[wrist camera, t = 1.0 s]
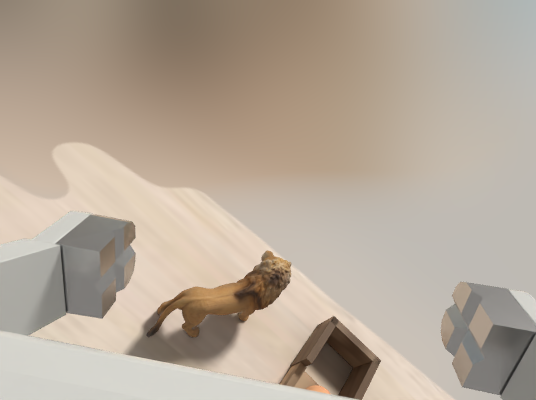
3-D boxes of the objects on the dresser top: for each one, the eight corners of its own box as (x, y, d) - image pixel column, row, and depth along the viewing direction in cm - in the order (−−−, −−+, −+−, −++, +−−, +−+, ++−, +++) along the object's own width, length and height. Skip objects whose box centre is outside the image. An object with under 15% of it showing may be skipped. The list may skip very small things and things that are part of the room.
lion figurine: (255, 270, 48) (284, 238, 41) (274, 309, 46) (308, 282, 39) (137, 314, 40) (149, 284, 33) (155, 364, 38) (172, 342, 31)
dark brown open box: (290, 365, 43) (306, 358, 40) (317, 325, 47) (333, 316, 44) (337, 411, 42) (357, 408, 39) (361, 367, 46) (381, 360, 43)
